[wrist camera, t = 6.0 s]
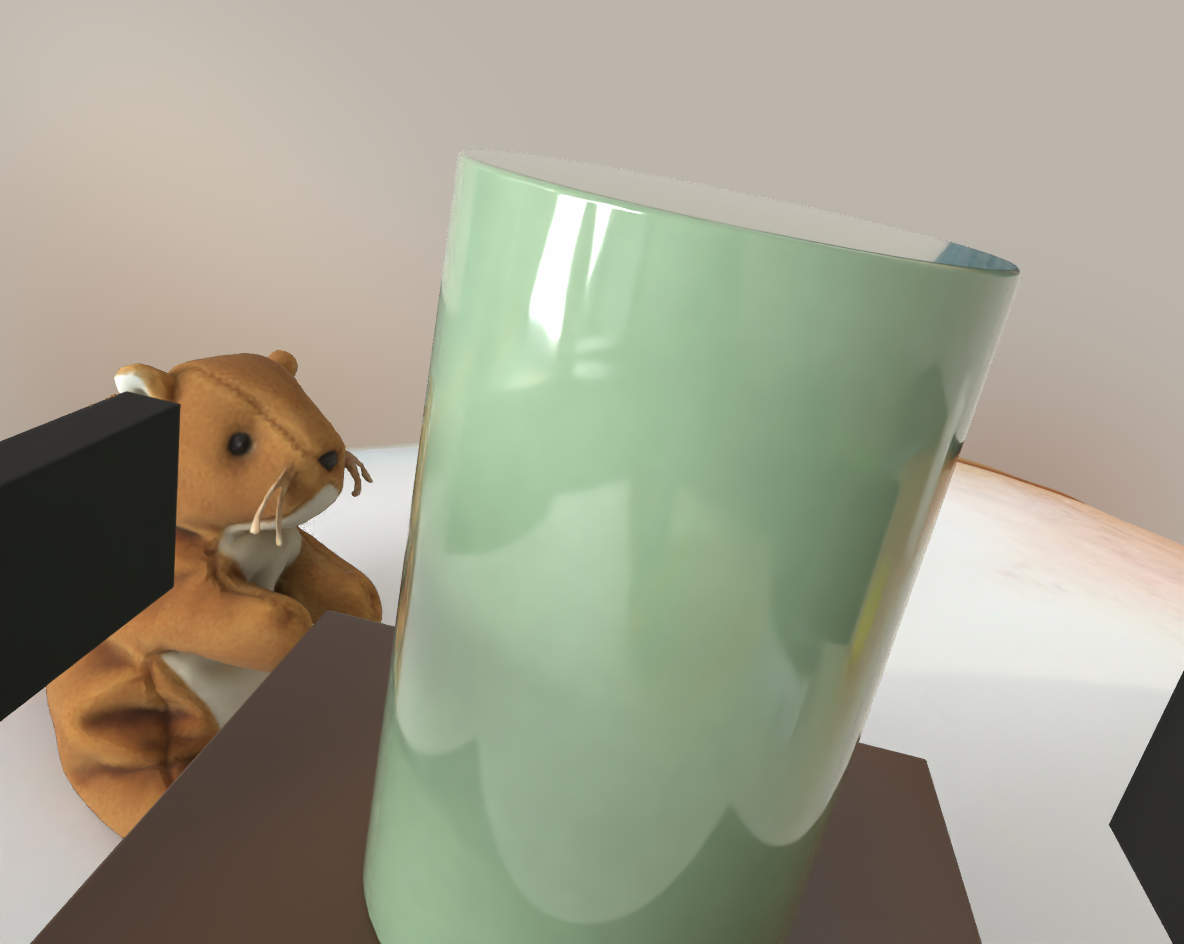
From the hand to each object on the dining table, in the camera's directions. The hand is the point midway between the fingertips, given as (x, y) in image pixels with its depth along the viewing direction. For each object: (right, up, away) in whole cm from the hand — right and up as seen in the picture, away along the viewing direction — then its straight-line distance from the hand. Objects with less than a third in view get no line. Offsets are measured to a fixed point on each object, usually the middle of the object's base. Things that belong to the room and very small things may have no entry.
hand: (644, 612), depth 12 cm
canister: (-1, -5, +4) cm, 6 cm away
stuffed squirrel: (-16, -6, +21) cm, 27 cm away
